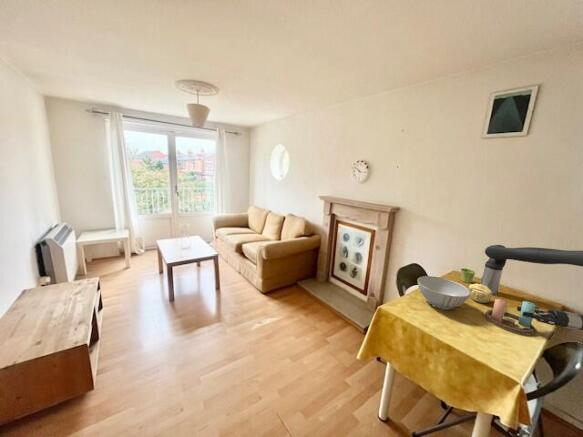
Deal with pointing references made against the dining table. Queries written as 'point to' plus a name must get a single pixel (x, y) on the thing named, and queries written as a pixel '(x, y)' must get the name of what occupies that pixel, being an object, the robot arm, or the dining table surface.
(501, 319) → the pink cylinder
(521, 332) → the brown ring
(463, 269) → the plant pot
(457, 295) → the decorative bowl
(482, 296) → the sculpture
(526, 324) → the teal cylinder
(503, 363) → the dining table surface
